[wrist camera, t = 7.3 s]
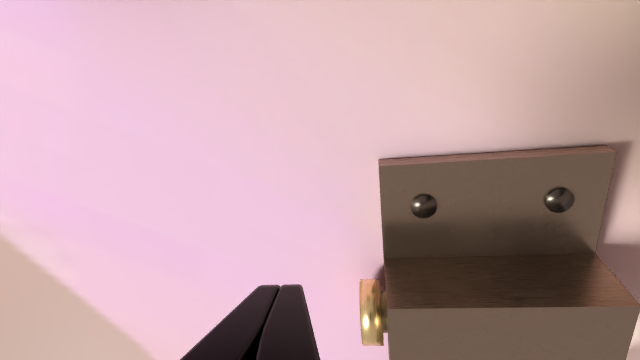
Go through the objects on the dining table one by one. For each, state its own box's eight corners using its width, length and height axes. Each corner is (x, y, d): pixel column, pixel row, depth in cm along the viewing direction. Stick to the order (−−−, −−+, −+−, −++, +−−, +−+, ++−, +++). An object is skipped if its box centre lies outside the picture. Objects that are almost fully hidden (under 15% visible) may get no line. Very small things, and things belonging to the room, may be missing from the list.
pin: (603, 260, 20) (643, 307, 17) (591, 310, 21) (627, 361, 18) (360, 266, 21) (359, 310, 18) (364, 313, 23) (363, 360, 20)
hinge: (606, 145, 18) (674, 189, 14) (560, 378, 24) (598, 455, 20) (378, 159, 19) (381, 203, 15) (390, 376, 25) (394, 447, 22)
